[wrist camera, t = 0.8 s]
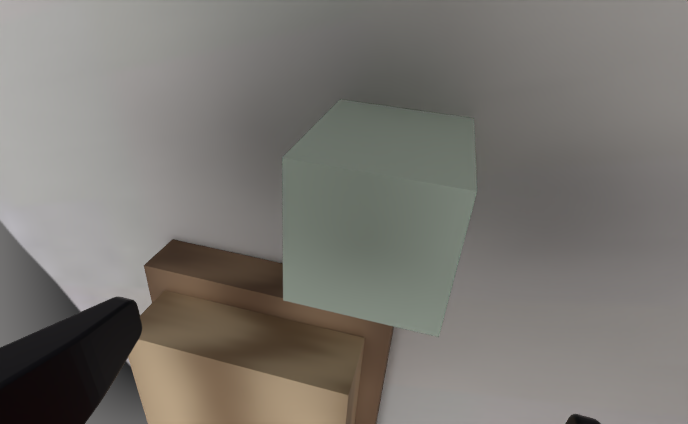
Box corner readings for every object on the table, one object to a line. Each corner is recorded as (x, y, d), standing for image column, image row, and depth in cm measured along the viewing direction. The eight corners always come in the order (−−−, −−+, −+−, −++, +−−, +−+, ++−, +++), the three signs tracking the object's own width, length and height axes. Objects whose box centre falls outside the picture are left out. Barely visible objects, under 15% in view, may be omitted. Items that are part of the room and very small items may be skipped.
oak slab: (364, 337, 19) (348, 395, 16) (349, 463, 24) (335, 521, 21) (164, 290, 20) (121, 334, 18) (190, 415, 26) (160, 464, 23)
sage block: (473, 118, 15) (477, 191, 10) (446, 232, 18) (438, 337, 13) (340, 99, 16) (282, 157, 11) (333, 210, 19) (283, 300, 14)
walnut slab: (402, 280, 20) (393, 324, 18) (375, 427, 26) (366, 475, 24) (180, 232, 22) (143, 265, 20) (203, 378, 29) (177, 418, 26)
